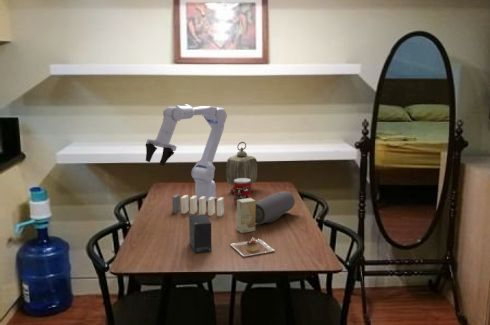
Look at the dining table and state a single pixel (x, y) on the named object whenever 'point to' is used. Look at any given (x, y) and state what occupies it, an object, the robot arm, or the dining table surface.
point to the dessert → (252, 246)
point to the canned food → (242, 189)
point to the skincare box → (246, 215)
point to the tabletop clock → (241, 167)
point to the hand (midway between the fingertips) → (154, 163)
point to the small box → (200, 233)
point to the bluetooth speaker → (273, 207)
